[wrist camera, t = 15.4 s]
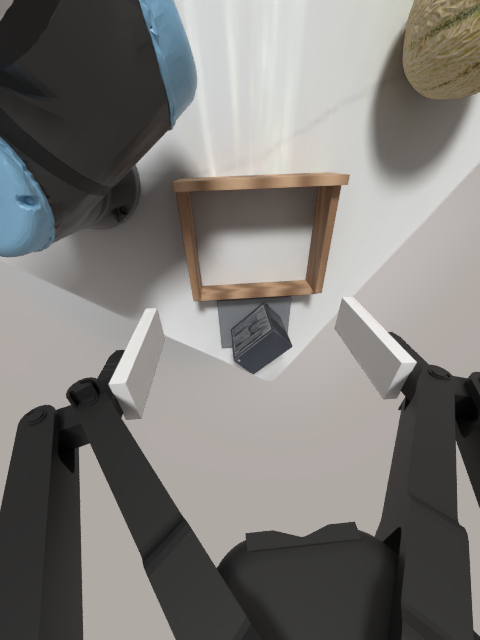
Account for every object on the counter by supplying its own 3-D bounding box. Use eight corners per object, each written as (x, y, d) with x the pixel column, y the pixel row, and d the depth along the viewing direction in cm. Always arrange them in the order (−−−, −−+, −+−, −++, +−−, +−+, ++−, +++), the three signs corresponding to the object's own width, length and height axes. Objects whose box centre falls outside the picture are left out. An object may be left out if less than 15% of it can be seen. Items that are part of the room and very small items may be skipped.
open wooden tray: (196, 291, 49) (193, 312, 43) (179, 178, 38) (171, 181, 31) (310, 285, 50) (324, 303, 44) (327, 172, 39) (349, 174, 32)
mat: (221, 346, 58) (221, 347, 57) (217, 300, 51) (217, 301, 50) (285, 341, 59) (286, 343, 58) (290, 295, 51) (291, 297, 51)
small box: (248, 344, 57) (253, 376, 49) (229, 329, 55) (231, 361, 46) (282, 318, 54) (294, 348, 45) (264, 300, 51) (273, 329, 42)
